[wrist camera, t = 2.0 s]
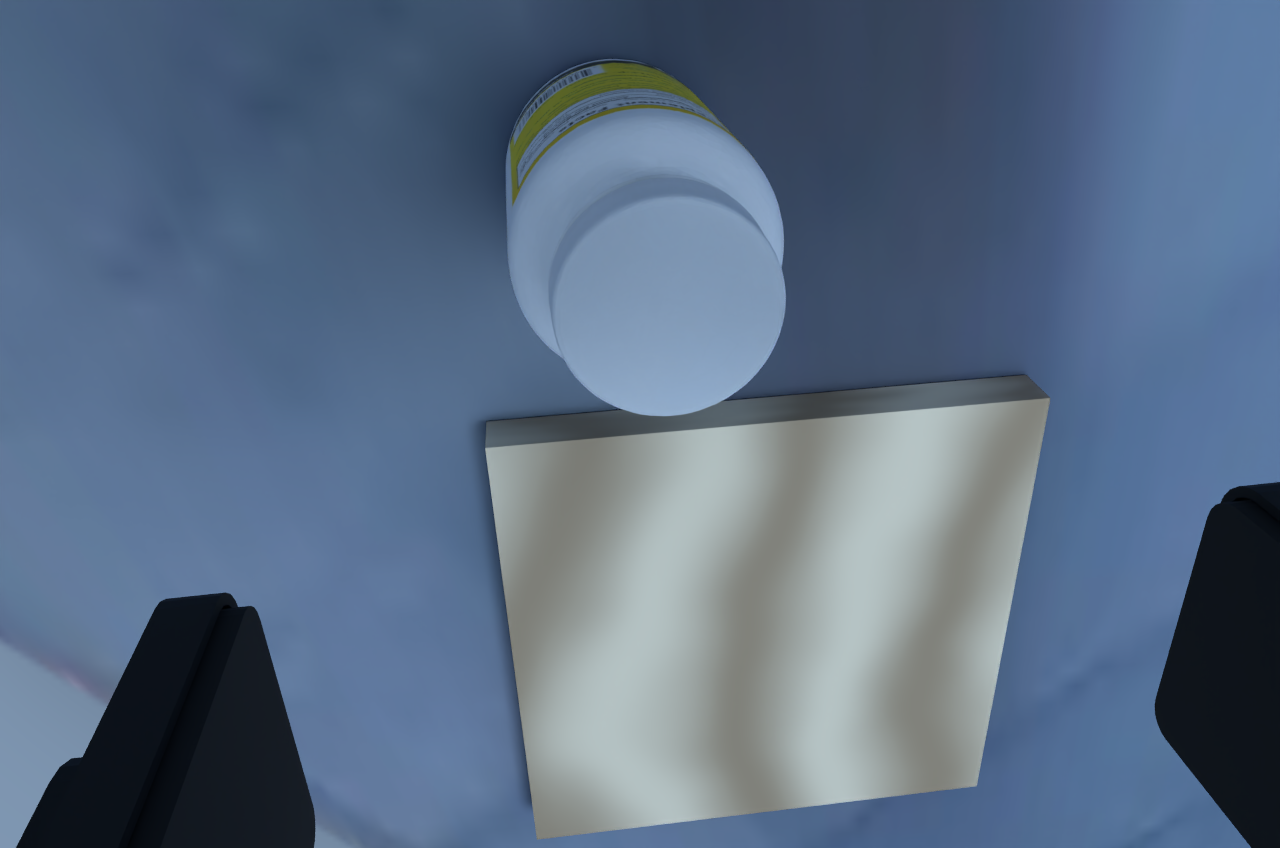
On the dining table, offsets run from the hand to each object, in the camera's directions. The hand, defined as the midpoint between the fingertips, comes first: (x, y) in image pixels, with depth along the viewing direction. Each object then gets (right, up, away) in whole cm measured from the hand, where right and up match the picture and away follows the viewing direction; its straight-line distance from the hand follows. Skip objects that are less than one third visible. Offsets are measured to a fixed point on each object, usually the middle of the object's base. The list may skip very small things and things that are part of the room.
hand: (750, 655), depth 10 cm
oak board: (+3, -4, +23) cm, 23 cm away
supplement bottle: (-2, +9, +15) cm, 18 cm away
